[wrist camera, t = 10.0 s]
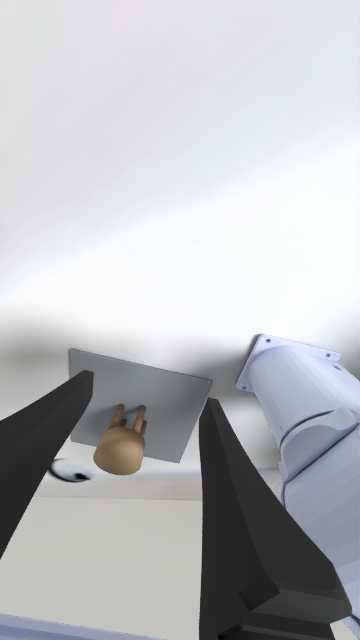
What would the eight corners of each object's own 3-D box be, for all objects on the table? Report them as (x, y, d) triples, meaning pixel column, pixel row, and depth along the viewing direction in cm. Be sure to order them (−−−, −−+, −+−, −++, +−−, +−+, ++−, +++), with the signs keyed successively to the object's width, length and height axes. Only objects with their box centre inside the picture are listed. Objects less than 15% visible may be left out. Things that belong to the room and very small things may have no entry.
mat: (211, 380, 23) (211, 382, 23) (179, 460, 30) (179, 463, 30) (71, 348, 22) (69, 350, 22) (72, 438, 29) (70, 441, 29)
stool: (150, 401, 24) (139, 448, 19) (152, 428, 27) (142, 476, 21) (111, 399, 25) (89, 444, 19) (116, 425, 27) (97, 473, 21)
